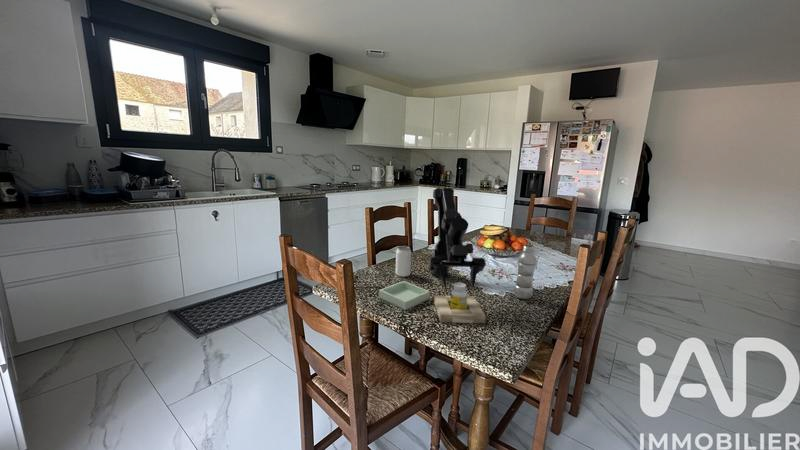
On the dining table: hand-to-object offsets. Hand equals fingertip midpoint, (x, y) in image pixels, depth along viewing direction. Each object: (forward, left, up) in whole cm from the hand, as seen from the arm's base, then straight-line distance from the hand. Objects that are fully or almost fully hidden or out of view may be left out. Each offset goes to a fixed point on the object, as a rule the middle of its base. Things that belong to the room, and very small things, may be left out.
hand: (459, 287), depth 104 cm
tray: (+7, -18, -8) cm, 21 cm away
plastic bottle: (-27, +10, -9) cm, 31 cm away
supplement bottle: (+1, +1, -9) cm, 9 cm away
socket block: (+1, 0, -8) cm, 8 cm away
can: (-10, -35, -9) cm, 38 cm away
